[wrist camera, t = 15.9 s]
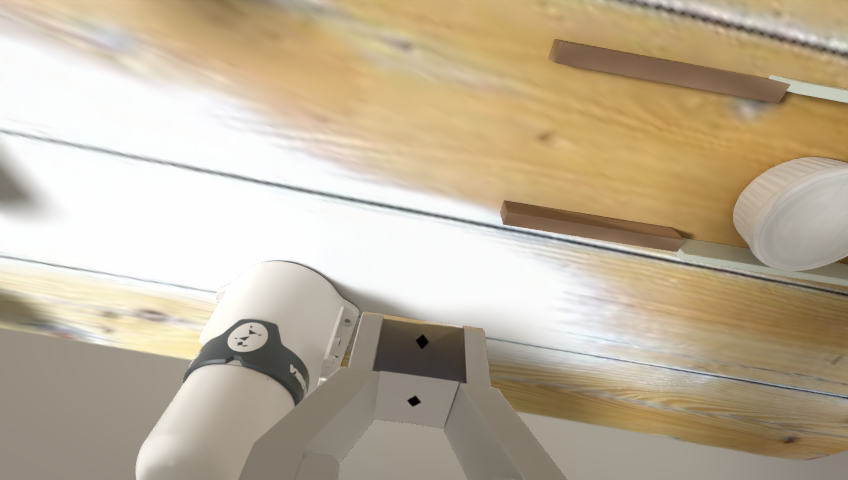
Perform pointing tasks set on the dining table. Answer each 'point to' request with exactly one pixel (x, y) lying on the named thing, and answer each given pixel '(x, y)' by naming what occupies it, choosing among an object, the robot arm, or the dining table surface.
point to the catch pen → (744, 256)
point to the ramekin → (796, 214)
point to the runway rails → (650, 71)
